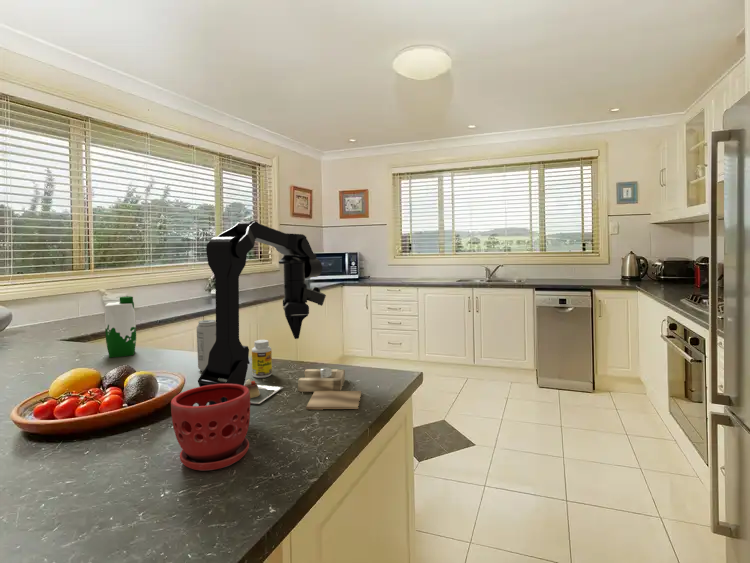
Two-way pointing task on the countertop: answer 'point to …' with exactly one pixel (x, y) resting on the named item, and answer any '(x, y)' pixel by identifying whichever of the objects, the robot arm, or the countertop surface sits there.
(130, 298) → the milk carton
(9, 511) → the countertop surface
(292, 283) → the robot arm
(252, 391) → the dessert
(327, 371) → the steel post
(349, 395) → the cork mat
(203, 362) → the energy drink can
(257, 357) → the supplement bottle
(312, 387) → the c link
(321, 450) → the countertop surface
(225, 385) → the plant pot
